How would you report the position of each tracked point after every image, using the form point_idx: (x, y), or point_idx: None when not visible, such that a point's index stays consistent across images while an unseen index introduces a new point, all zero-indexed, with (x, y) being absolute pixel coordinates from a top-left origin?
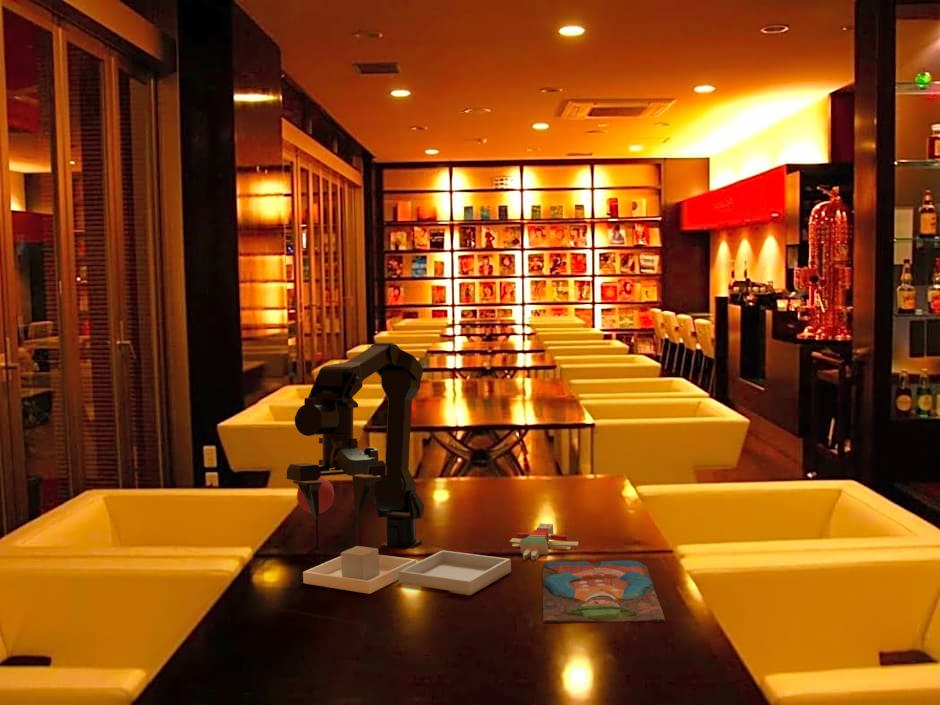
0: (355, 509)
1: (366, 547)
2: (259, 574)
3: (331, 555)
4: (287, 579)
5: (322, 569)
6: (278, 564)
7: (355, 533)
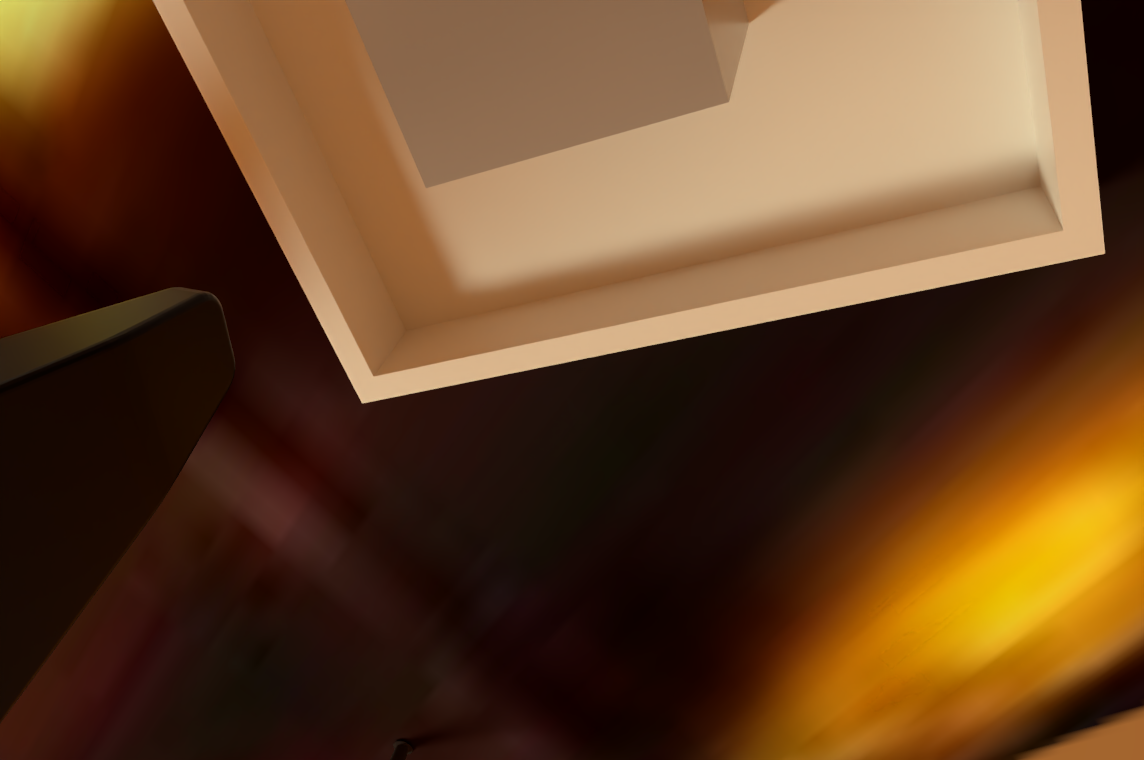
0: (197, 425)
1: (374, 36)
2: (1042, 659)
3: (424, 587)
4: (1018, 430)
5: (810, 265)
6: (791, 704)
7: (116, 749)
